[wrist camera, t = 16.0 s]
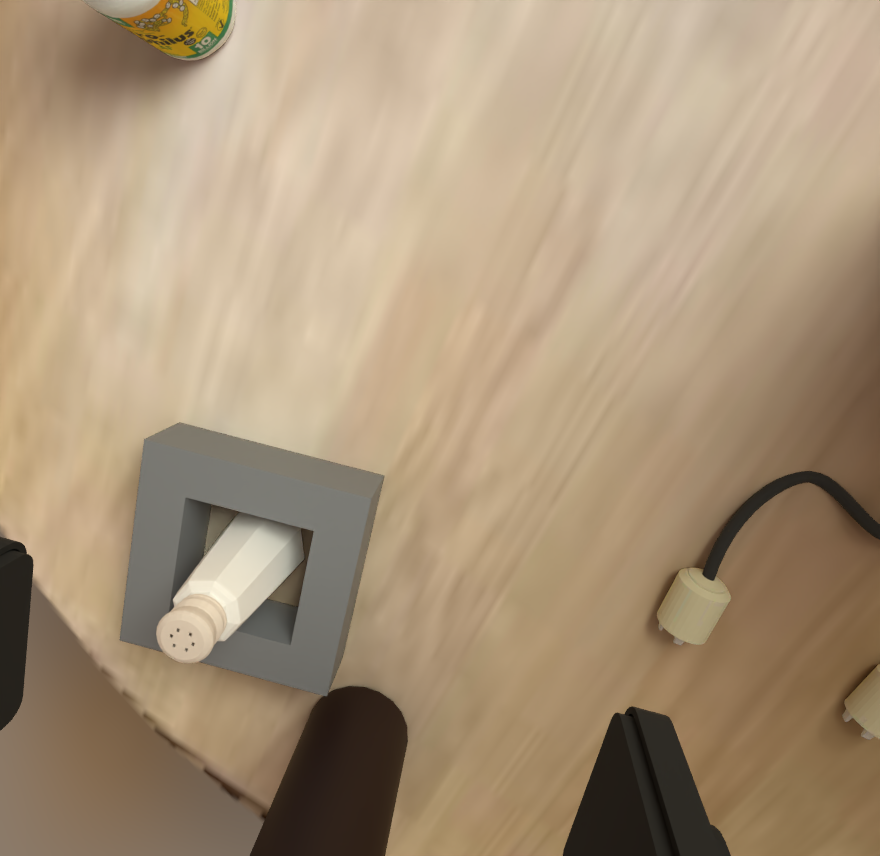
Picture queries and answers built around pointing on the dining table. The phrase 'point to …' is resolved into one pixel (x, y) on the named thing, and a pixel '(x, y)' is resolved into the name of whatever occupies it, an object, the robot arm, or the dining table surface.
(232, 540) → the pepper shaker
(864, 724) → the cable
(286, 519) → the frame
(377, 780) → the dark brown water bottle
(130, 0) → the supplement bottle
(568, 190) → the dining table surface
